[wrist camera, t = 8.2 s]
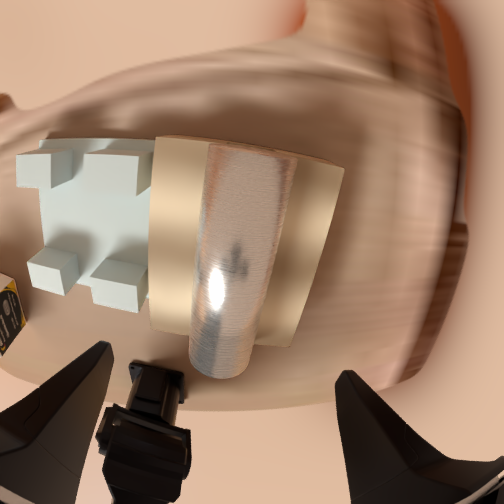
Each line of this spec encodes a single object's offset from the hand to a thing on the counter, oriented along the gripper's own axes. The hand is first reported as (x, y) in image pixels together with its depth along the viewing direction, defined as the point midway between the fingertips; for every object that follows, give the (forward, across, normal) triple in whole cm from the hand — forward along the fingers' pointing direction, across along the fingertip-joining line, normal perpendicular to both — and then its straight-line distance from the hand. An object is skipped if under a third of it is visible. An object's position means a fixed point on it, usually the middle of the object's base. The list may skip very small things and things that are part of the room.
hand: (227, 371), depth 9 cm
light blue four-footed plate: (+13, +12, 0) cm, 18 cm away
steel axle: (+7, 0, 0) cm, 7 cm away
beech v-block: (+13, 0, 0) cm, 13 cm away
